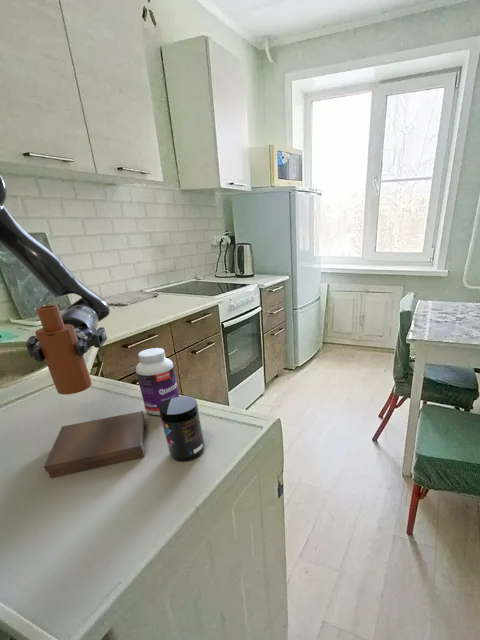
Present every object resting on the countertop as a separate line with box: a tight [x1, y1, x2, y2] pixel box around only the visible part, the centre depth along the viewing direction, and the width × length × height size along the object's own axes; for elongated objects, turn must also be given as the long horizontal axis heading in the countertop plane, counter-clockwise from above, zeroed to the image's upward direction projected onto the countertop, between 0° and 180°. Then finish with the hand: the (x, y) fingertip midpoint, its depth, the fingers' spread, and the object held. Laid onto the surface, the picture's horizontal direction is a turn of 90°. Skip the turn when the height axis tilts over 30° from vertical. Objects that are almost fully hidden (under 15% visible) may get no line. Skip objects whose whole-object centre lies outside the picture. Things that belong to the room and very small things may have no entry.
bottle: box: [34, 304, 93, 396], centre depth 66 cm, size 6×6×16 cm
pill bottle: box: [135, 347, 180, 416], centre depth 81 cm, size 8×8×14 cm
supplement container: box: [159, 395, 205, 462], centre depth 66 cm, size 7×7×10 cm
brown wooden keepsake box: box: [43, 410, 147, 479], centre depth 70 cm, size 16×14×3 cm
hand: (59, 353), depth 64 cm, fingers closed on bottle, 6 cm apart
